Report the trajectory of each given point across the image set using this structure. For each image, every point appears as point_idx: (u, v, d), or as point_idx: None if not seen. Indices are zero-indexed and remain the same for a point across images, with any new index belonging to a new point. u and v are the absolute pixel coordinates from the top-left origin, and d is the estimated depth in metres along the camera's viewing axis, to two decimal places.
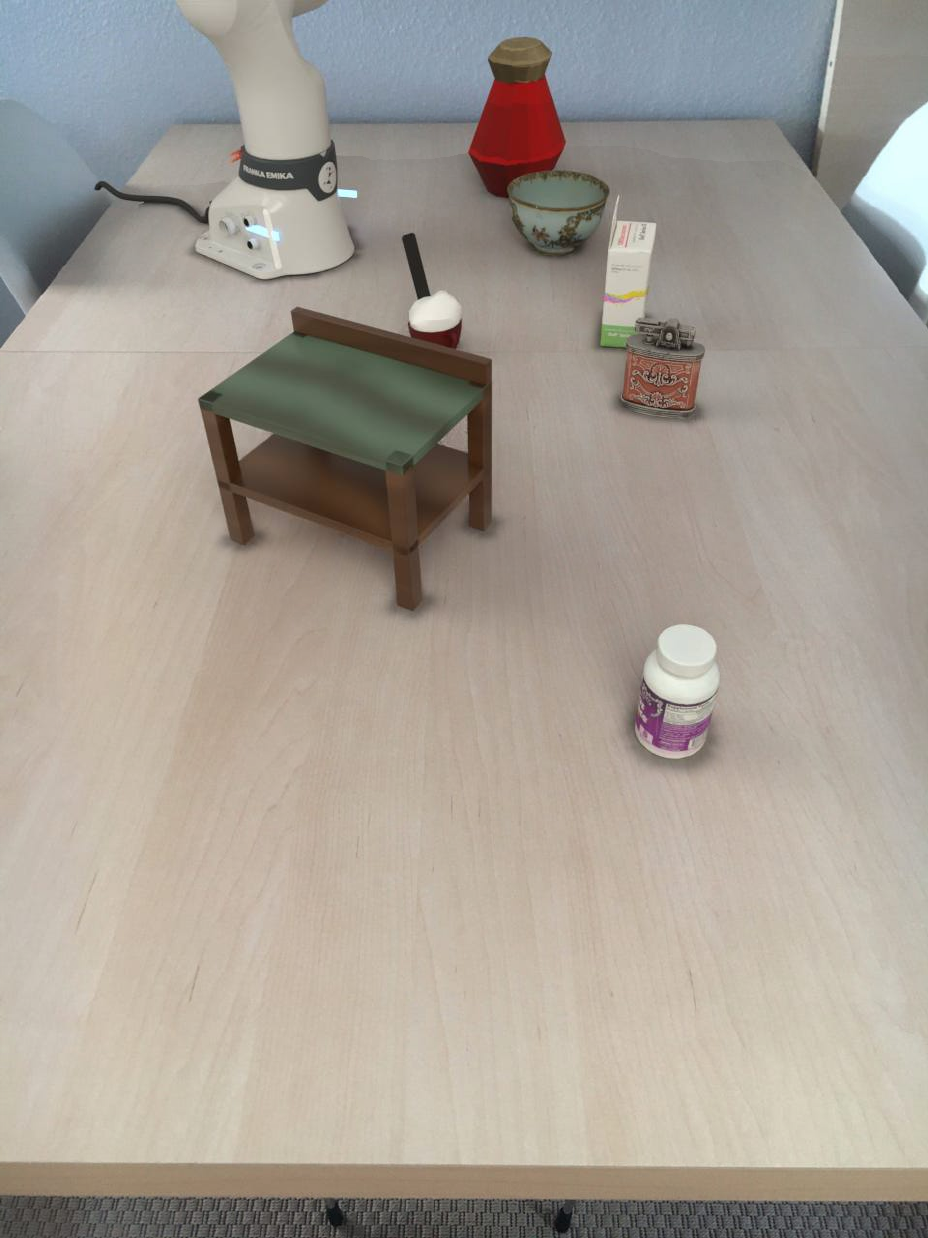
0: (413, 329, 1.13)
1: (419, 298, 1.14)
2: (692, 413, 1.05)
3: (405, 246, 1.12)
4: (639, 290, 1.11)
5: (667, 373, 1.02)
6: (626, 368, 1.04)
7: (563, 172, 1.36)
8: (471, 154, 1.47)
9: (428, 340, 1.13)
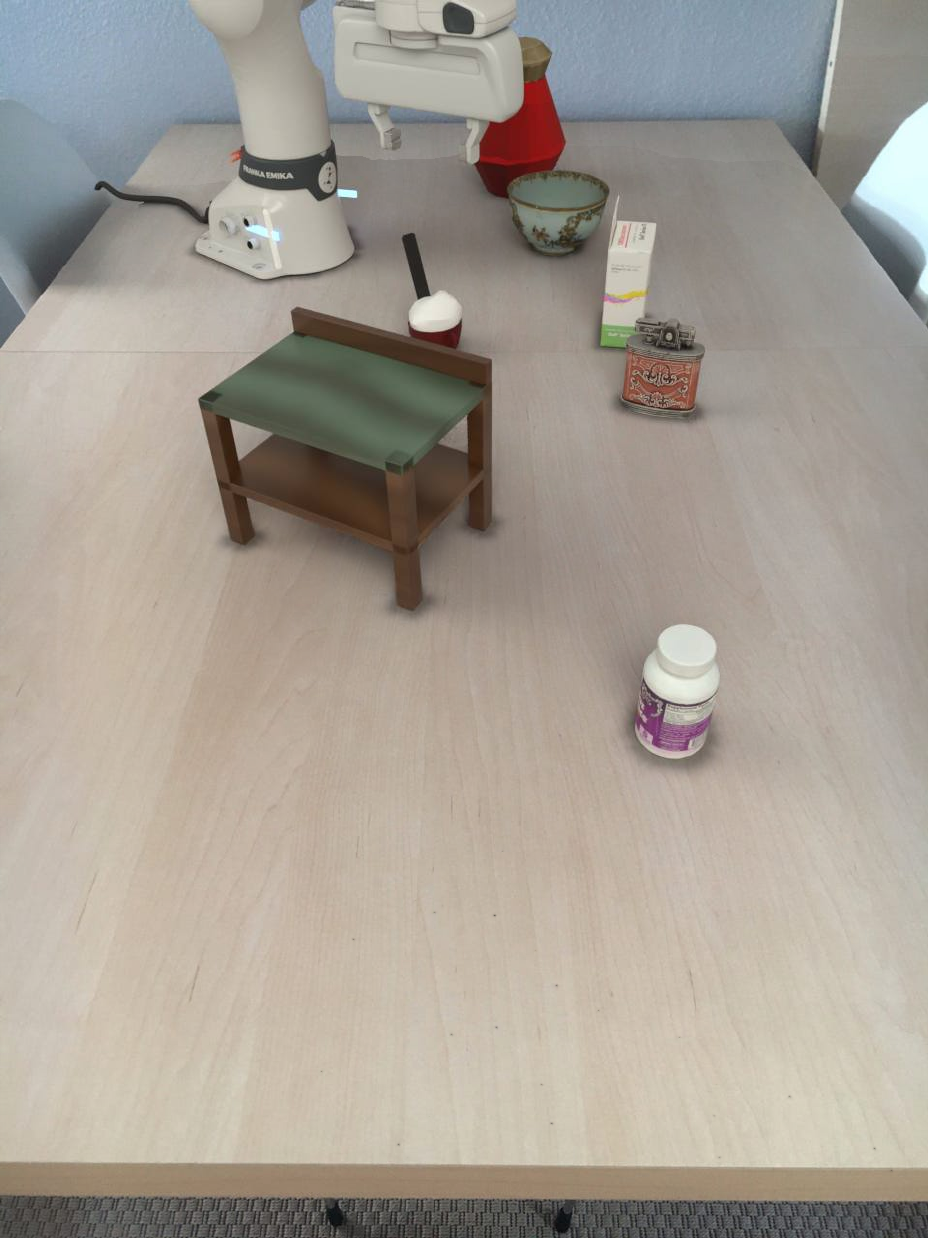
0: (413, 329, 1.13)
1: (419, 298, 1.14)
2: (692, 413, 1.05)
3: (405, 246, 1.12)
4: (639, 290, 1.11)
5: (667, 373, 1.02)
6: (626, 368, 1.04)
7: (563, 172, 1.36)
8: None
9: (428, 340, 1.13)
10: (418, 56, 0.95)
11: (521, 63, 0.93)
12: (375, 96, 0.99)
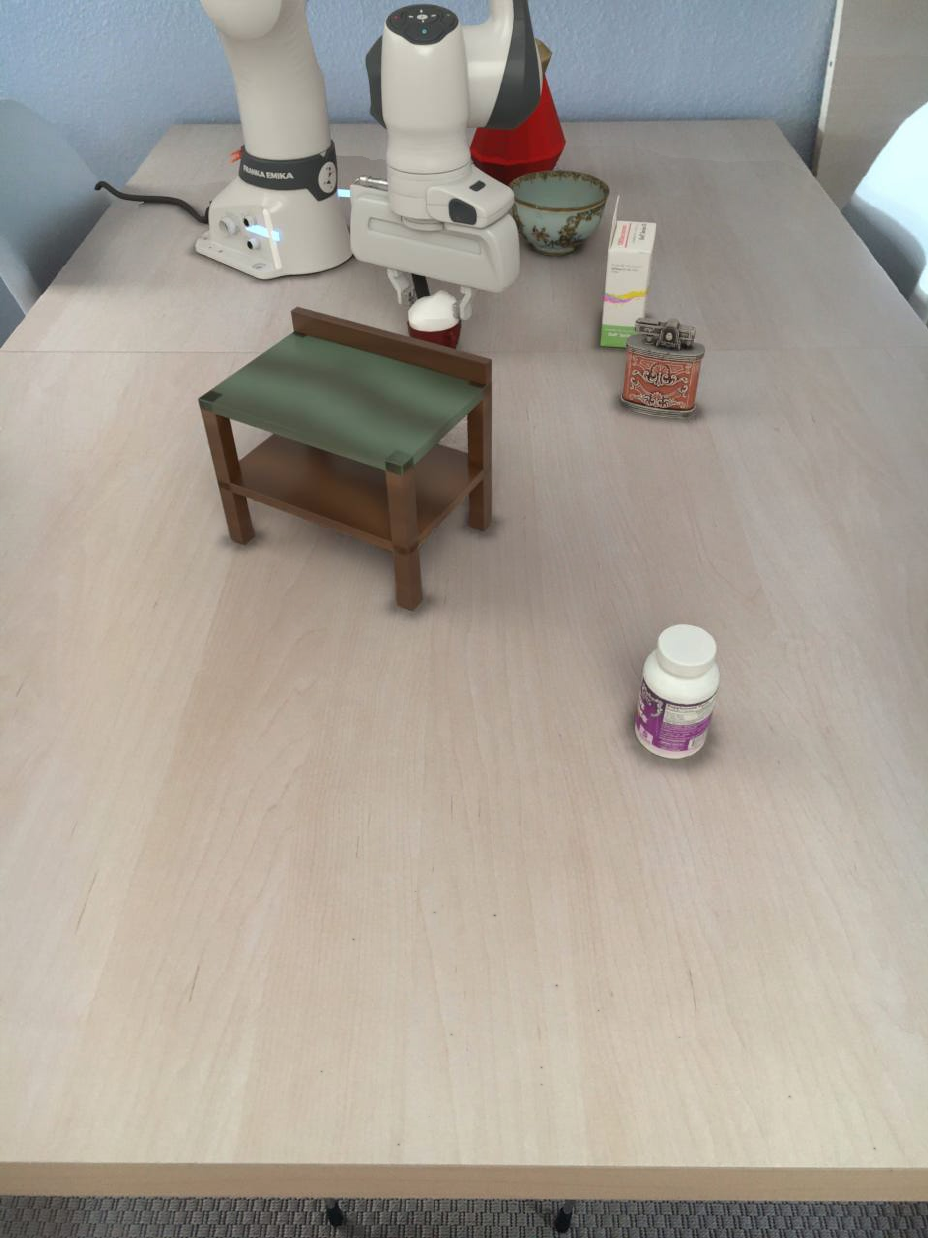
0: (412, 328, 1.13)
1: (419, 298, 1.14)
2: (692, 413, 1.05)
3: None
4: (639, 290, 1.11)
5: (667, 373, 1.02)
6: (626, 368, 1.04)
7: (563, 172, 1.36)
8: (471, 154, 1.47)
9: (427, 339, 1.13)
10: (426, 234, 1.06)
11: (518, 243, 1.05)
12: (387, 262, 1.11)
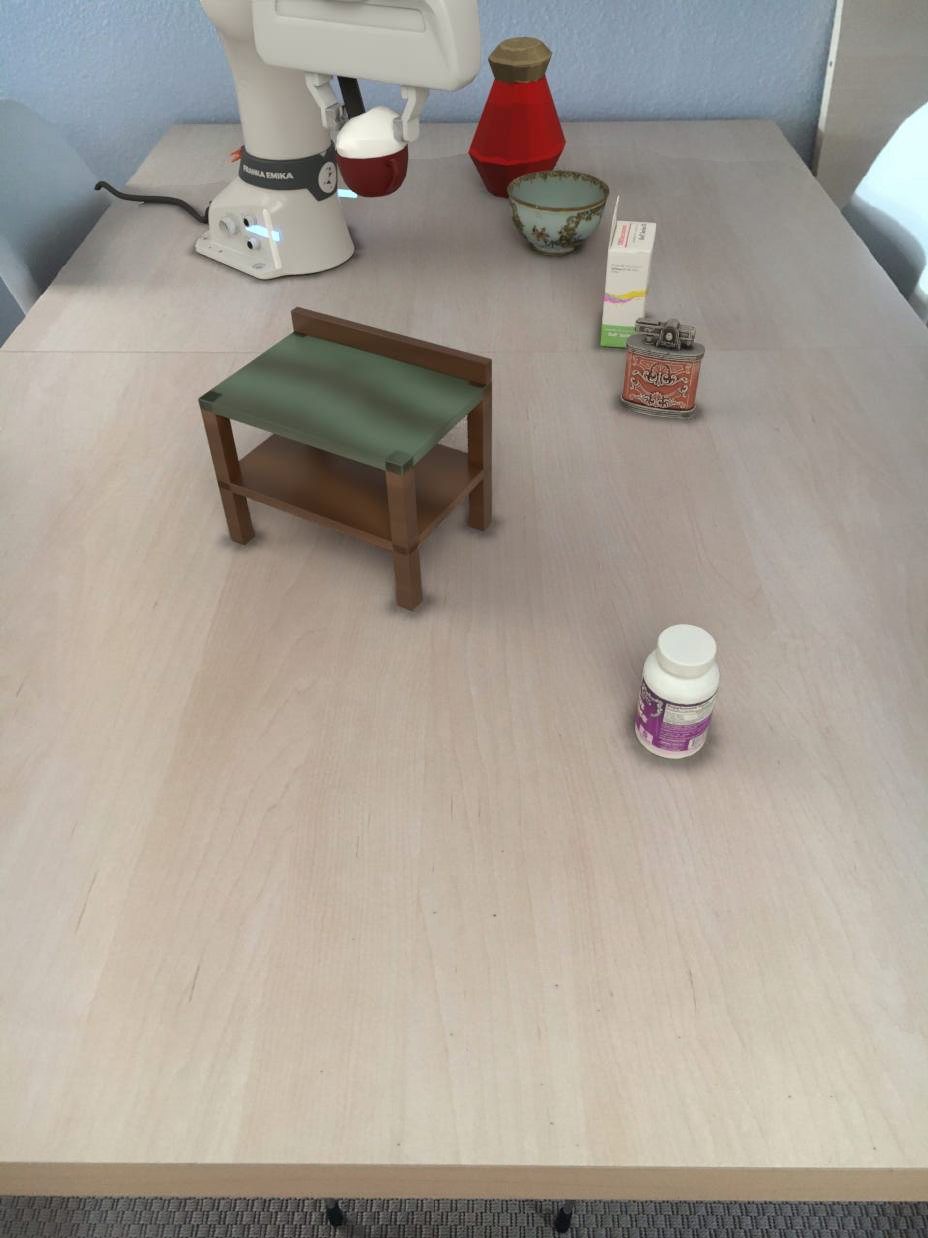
0: (341, 156, 0.84)
1: (350, 117, 0.85)
2: (692, 413, 1.05)
3: None
4: (639, 290, 1.11)
5: (667, 373, 1.02)
6: (626, 368, 1.04)
7: (563, 172, 1.36)
8: (471, 154, 1.47)
9: (360, 171, 0.83)
10: (351, 10, 0.77)
11: (477, 18, 0.75)
12: (303, 62, 0.81)
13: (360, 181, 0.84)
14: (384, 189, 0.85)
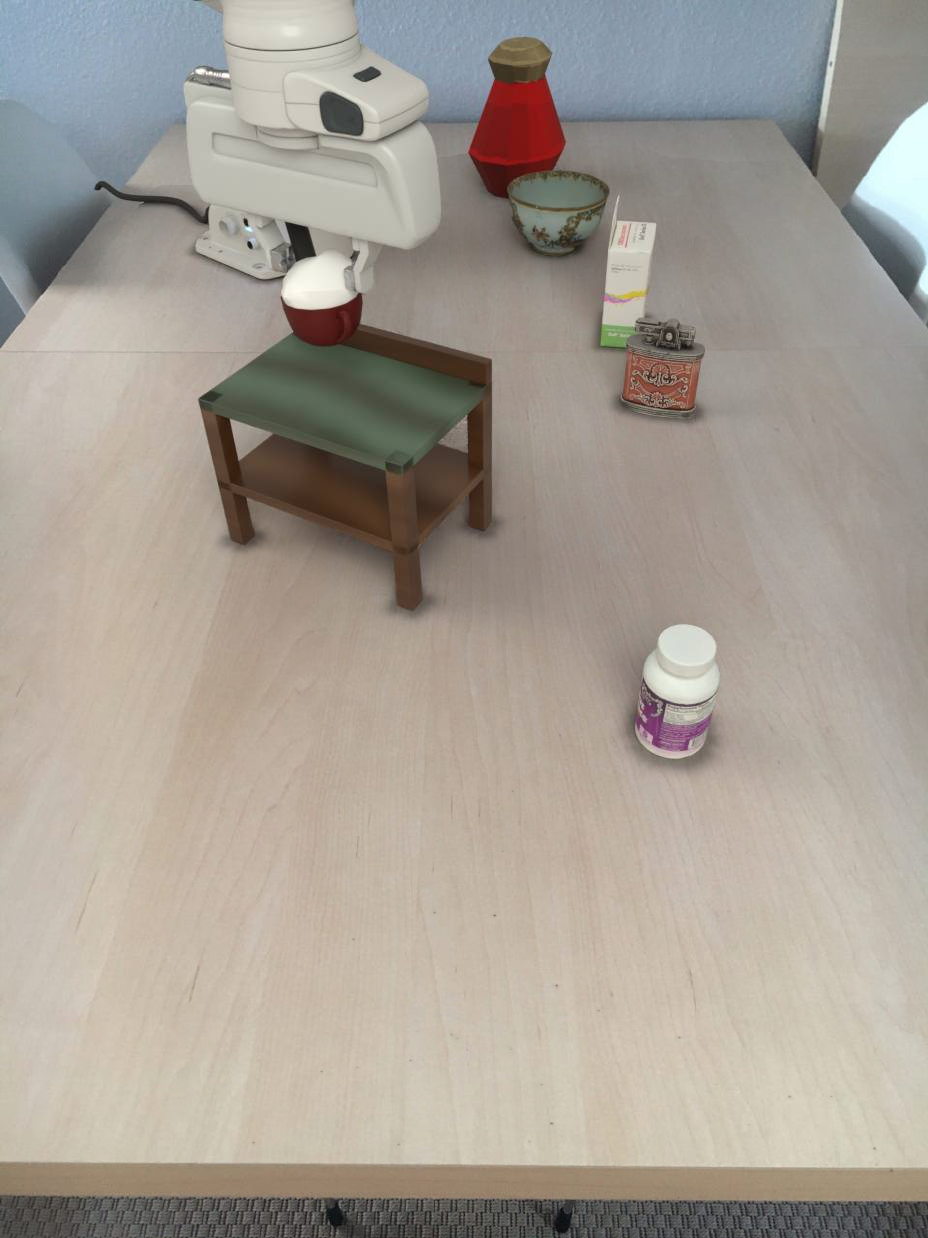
0: (286, 305, 0.75)
1: (298, 259, 0.76)
2: (692, 413, 1.05)
3: None
4: (639, 290, 1.11)
5: (667, 373, 1.02)
6: (626, 368, 1.04)
7: (563, 172, 1.36)
8: (471, 154, 1.47)
9: (308, 322, 0.75)
10: (295, 157, 0.68)
11: (436, 171, 0.67)
12: (243, 203, 0.73)
13: (308, 332, 0.76)
14: (335, 340, 0.76)
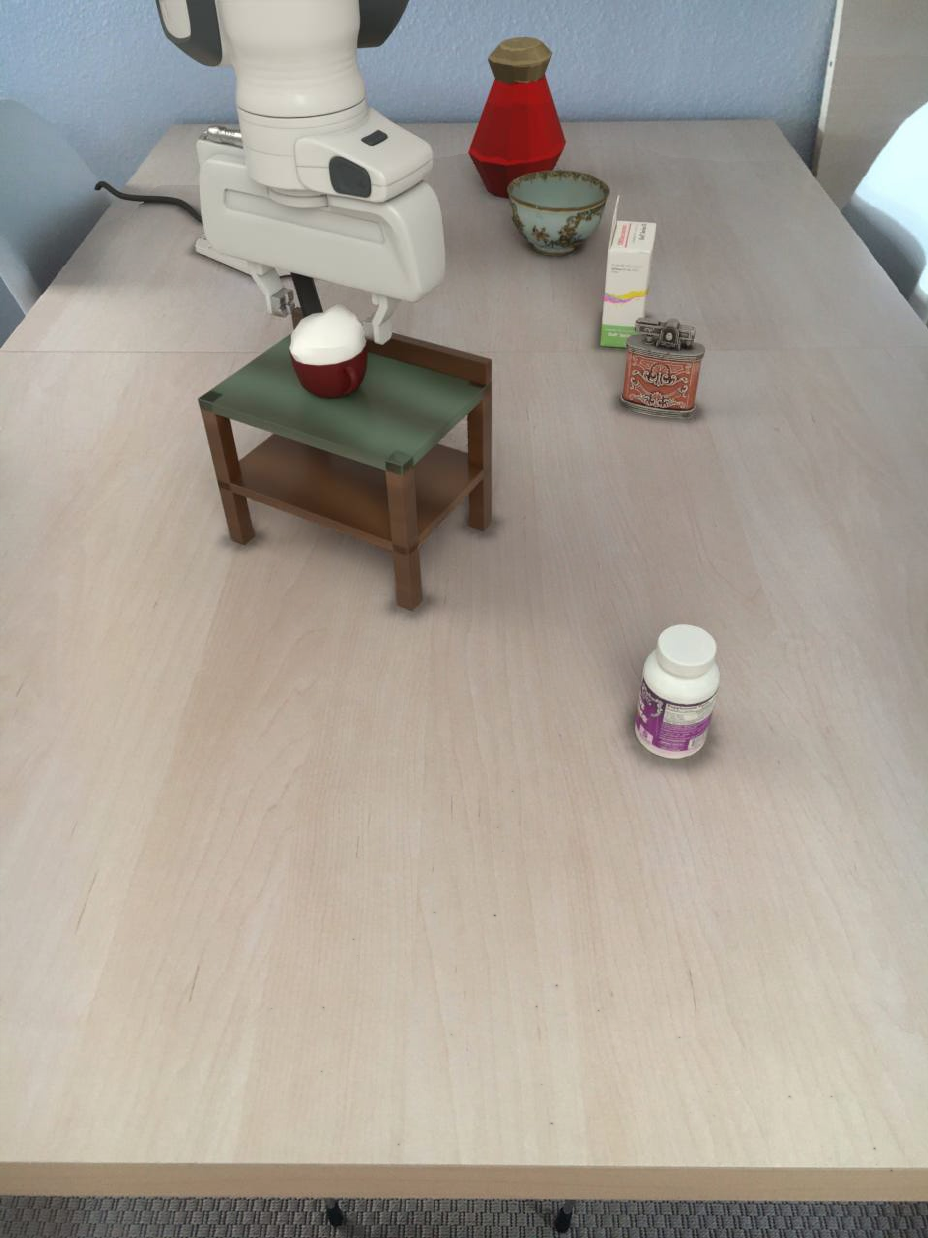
0: (294, 360, 0.78)
1: (305, 315, 0.80)
2: (692, 413, 1.05)
3: None
4: (639, 290, 1.11)
5: (667, 373, 1.02)
6: (626, 368, 1.04)
7: (563, 172, 1.36)
8: (471, 154, 1.47)
9: (315, 377, 0.78)
10: (305, 213, 0.71)
11: (441, 228, 0.70)
12: (254, 255, 0.76)
13: (316, 386, 0.79)
14: (341, 392, 0.80)
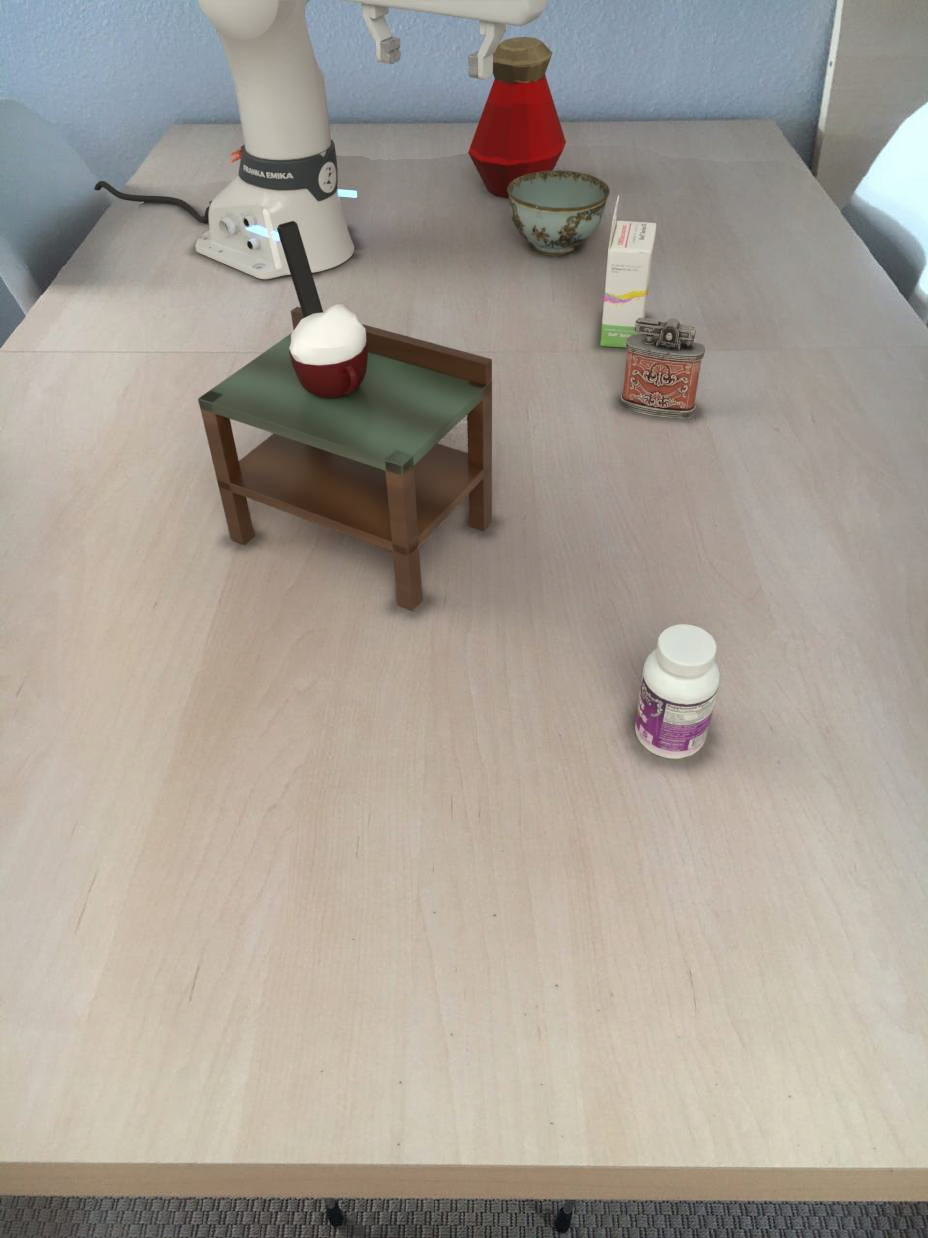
0: (294, 360, 0.78)
1: (306, 315, 0.80)
2: (692, 413, 1.05)
3: (282, 241, 0.77)
4: (639, 290, 1.11)
5: (667, 373, 1.02)
6: (626, 368, 1.04)
7: (563, 172, 1.36)
8: (471, 154, 1.47)
9: (315, 377, 0.78)
10: None
11: None
12: None
13: (316, 386, 0.79)
14: (341, 392, 0.80)
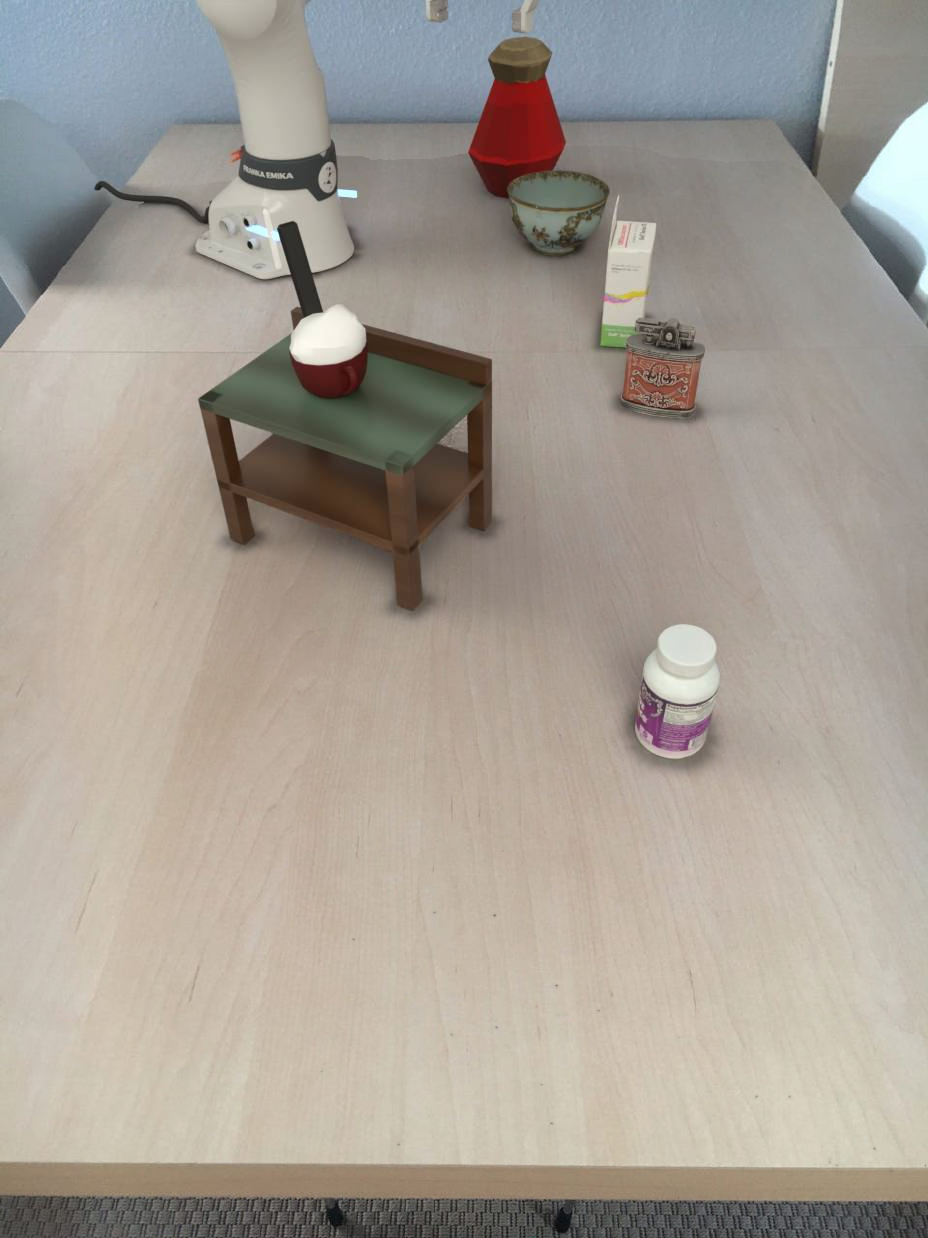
0: (294, 360, 0.78)
1: (305, 315, 0.80)
2: (692, 413, 1.05)
3: (282, 241, 0.77)
4: (639, 290, 1.11)
5: (667, 373, 1.02)
6: (626, 368, 1.04)
7: (563, 172, 1.36)
8: (471, 154, 1.47)
9: (315, 377, 0.78)
10: None
11: None
12: None
13: (316, 386, 0.79)
14: (341, 392, 0.80)
